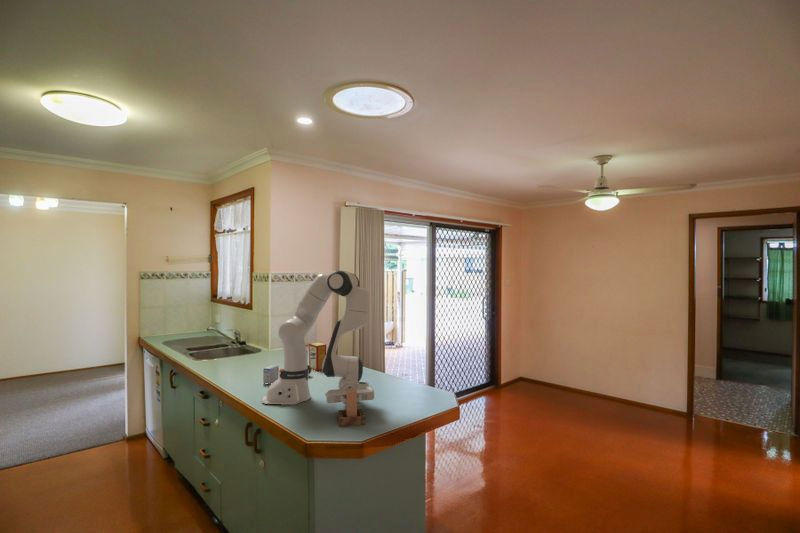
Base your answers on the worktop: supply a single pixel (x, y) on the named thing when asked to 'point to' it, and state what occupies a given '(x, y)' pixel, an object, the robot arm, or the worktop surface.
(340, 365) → the robot arm
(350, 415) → the salmon orange rectangular block
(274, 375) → the medicine box
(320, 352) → the baking soda box
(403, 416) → the worktop surface
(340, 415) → the walnut well
